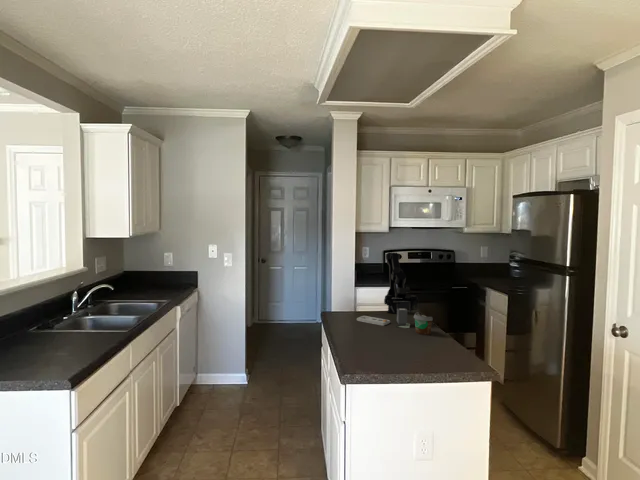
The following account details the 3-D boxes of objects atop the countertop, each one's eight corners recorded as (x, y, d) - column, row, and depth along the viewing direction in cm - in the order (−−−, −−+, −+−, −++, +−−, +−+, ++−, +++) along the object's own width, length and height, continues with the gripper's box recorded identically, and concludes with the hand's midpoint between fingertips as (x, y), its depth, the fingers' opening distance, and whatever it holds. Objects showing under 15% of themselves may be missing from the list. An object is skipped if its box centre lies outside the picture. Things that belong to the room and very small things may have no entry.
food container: (408, 330, 242) (409, 312, 241) (417, 329, 244) (418, 311, 244) (422, 336, 231) (423, 317, 230) (432, 335, 233) (432, 316, 233)
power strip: (356, 322, 259) (356, 317, 258) (363, 319, 265) (364, 314, 265) (383, 327, 248) (383, 321, 248) (389, 324, 255) (390, 319, 254)
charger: (396, 323, 255) (397, 308, 255) (405, 323, 255) (405, 308, 255) (398, 325, 250) (398, 310, 250) (407, 326, 250) (407, 310, 250)
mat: (394, 323, 258) (394, 322, 258) (410, 324, 256) (410, 323, 256) (392, 326, 250) (392, 326, 250) (409, 328, 247) (409, 327, 247)
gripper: (385, 281, 256) (387, 304, 246) (417, 282, 256) (421, 305, 246) (383, 292, 264) (385, 315, 254) (414, 293, 264) (417, 315, 254)
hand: (402, 312), depth 252 cm, fingers open, 9 cm apart
